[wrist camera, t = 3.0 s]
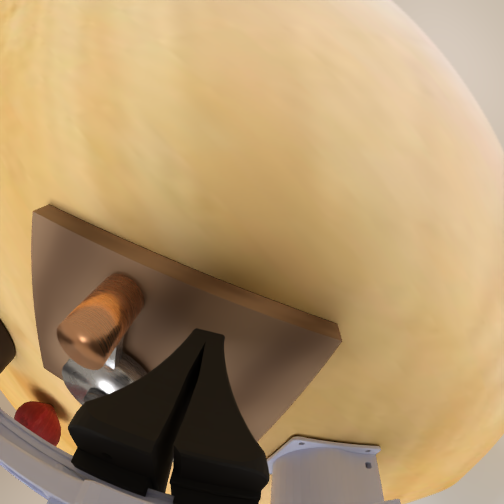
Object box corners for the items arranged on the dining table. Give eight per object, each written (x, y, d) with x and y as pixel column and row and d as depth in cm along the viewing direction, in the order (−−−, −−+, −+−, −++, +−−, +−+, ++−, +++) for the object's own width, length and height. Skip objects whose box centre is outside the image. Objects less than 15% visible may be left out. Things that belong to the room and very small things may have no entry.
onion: (26, 380, 22) (-8, 425, 14) (63, 401, 22) (30, 454, 14) (41, 408, 24) (14, 450, 16) (76, 427, 24) (50, 475, 16)
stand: (337, 323, 15) (353, 383, 11) (245, 441, 20) (239, 485, 16) (49, 204, 13) (-5, 228, 9) (52, 357, 19) (26, 390, 14)
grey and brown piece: (149, 416, 17) (131, 461, 13) (78, 380, 17) (52, 419, 13) (182, 301, 13) (150, 362, 9) (77, 252, 12) (24, 291, 8)
